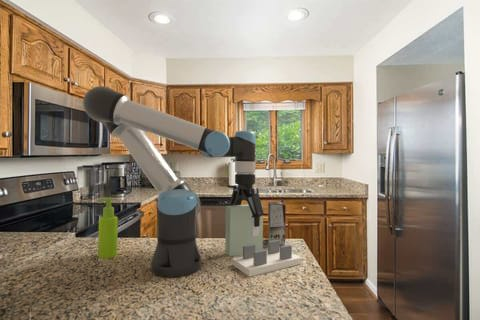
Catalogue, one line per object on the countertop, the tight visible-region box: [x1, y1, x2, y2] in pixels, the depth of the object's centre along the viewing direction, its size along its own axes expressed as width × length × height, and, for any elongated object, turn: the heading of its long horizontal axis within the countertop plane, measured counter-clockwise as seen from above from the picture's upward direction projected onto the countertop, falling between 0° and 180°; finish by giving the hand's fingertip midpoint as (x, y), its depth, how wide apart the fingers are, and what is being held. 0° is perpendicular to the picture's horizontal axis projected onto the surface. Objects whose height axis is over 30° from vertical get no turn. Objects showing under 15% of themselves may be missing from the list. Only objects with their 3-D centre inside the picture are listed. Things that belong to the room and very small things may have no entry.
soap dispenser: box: [96, 197, 119, 260], centre depth 91 cm, size 6×7×20 cm
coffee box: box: [267, 201, 287, 246], centre depth 110 cm, size 9×6×16 cm
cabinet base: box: [231, 240, 302, 278], centre depth 85 cm, size 20×10×6 cm, turn 121°
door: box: [224, 203, 264, 257], centre depth 97 cm, size 14×5×17 cm, turn 121°
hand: (244, 231), depth 97 cm, fingers open, 13 cm apart
